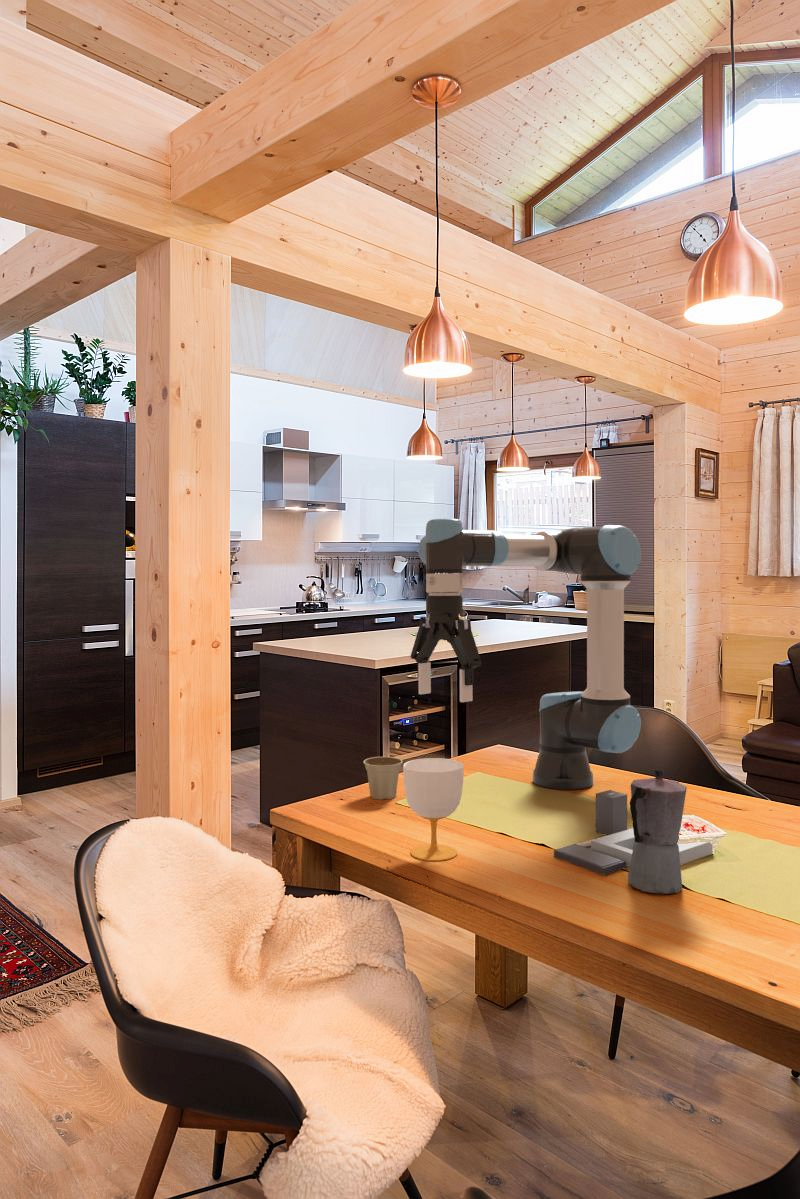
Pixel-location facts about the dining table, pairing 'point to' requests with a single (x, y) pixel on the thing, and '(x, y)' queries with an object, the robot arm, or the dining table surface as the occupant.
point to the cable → (586, 843)
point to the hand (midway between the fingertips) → (444, 697)
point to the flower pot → (383, 776)
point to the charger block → (611, 812)
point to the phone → (590, 859)
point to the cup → (433, 798)
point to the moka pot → (656, 834)
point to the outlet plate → (624, 842)
